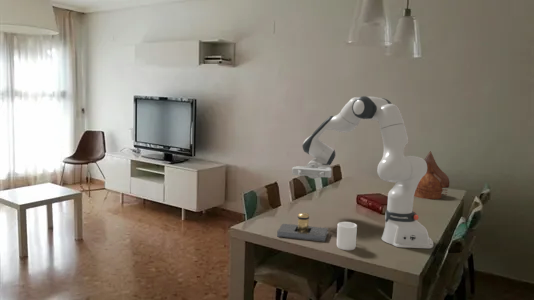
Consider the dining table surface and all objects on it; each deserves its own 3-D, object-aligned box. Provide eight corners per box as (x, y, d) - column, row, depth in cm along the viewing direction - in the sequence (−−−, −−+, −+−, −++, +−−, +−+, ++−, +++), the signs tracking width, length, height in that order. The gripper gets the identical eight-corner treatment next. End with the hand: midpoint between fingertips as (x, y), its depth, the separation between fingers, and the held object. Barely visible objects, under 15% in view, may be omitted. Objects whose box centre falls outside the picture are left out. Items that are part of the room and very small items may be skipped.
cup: (334, 248, 188) (335, 226, 187) (340, 240, 199) (341, 218, 198) (353, 251, 185) (354, 228, 184) (359, 242, 196) (360, 221, 195)
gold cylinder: (309, 233, 207) (310, 213, 206) (307, 237, 202) (308, 216, 200) (298, 232, 208) (298, 212, 207) (296, 236, 203) (296, 215, 202)
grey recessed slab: (327, 233, 208) (327, 228, 208) (324, 241, 197) (325, 236, 196) (282, 228, 213) (282, 223, 213) (277, 236, 202) (277, 231, 202)
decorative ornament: (404, 196, 286) (408, 150, 281) (409, 190, 302) (412, 147, 298) (447, 201, 274) (451, 154, 270) (449, 195, 291) (452, 150, 287)
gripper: (294, 162, 231) (289, 166, 218) (333, 165, 226) (330, 169, 213) (293, 174, 232) (288, 179, 219) (332, 176, 227) (329, 182, 214)
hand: (309, 174), depth 216 cm, fingers open, 8 cm apart
